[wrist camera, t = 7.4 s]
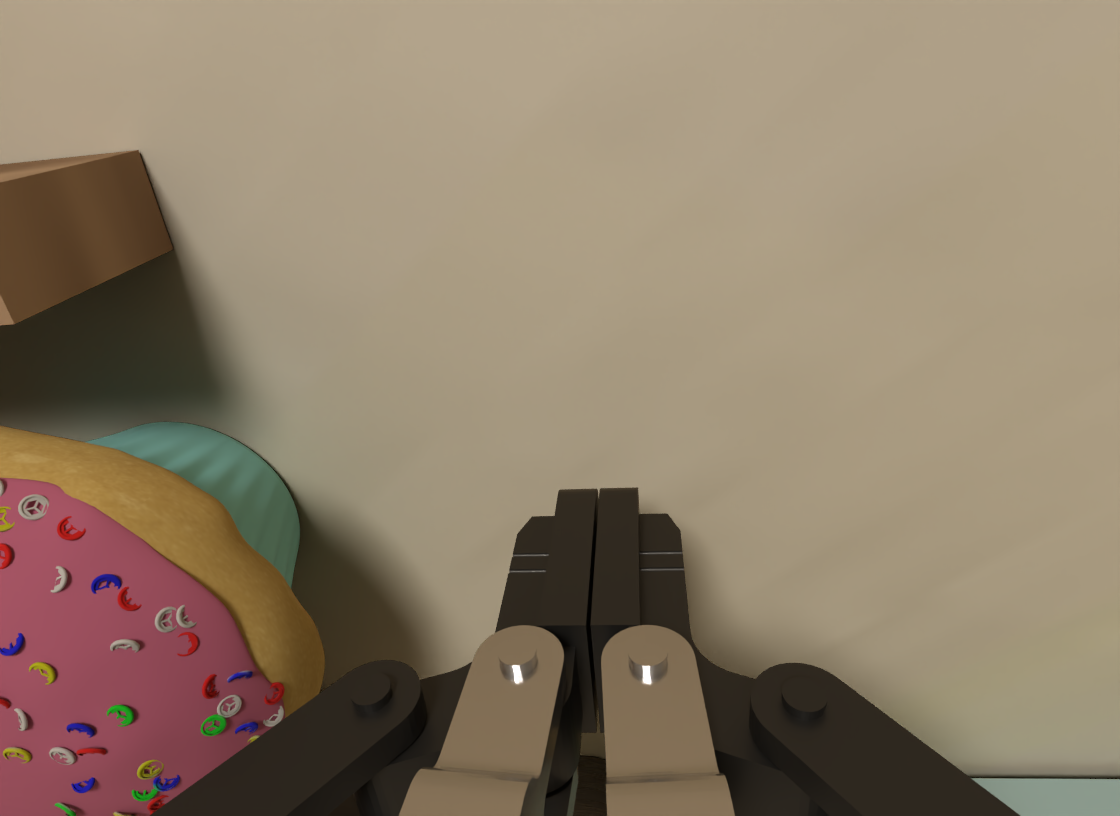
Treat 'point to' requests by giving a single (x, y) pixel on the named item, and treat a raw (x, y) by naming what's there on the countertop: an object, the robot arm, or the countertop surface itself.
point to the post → (591, 787)
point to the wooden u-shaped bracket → (73, 228)
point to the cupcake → (142, 615)
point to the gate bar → (1056, 796)
